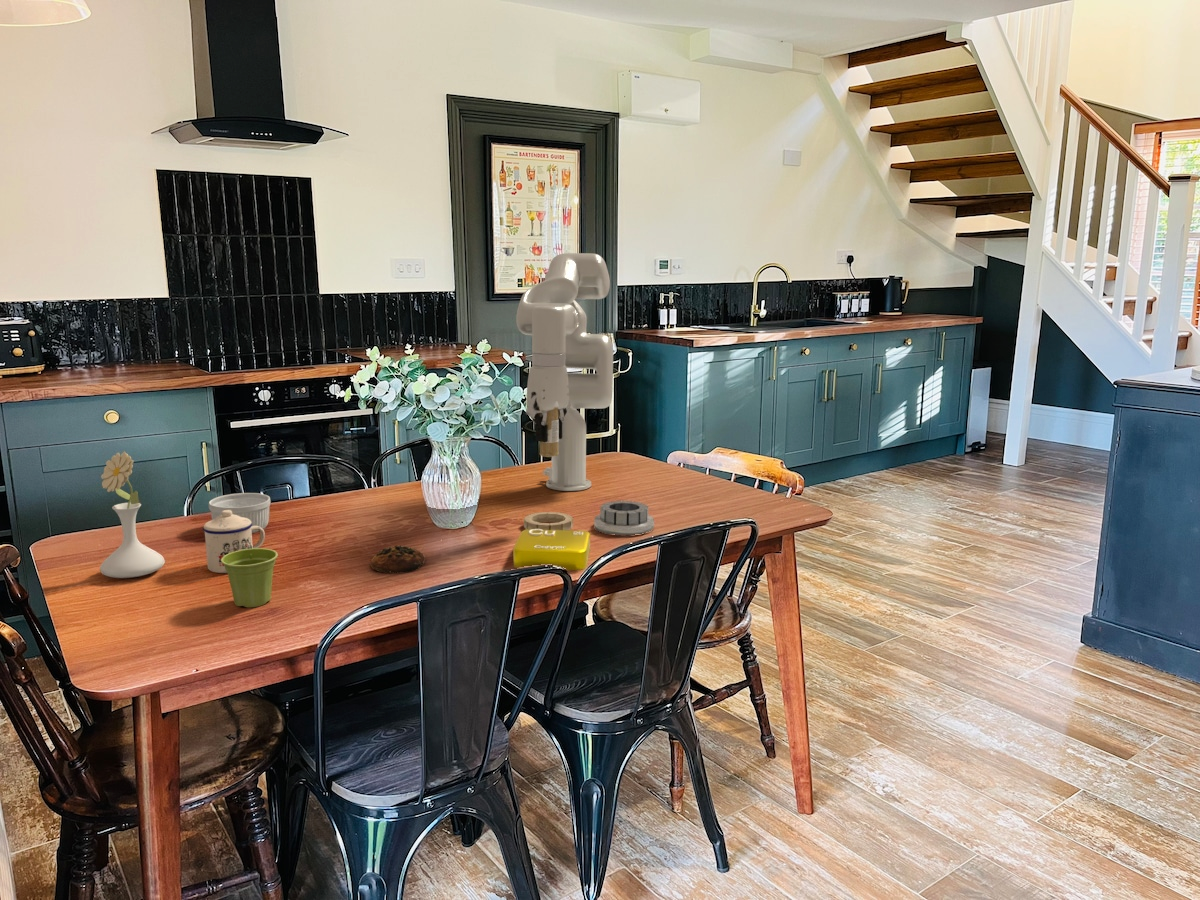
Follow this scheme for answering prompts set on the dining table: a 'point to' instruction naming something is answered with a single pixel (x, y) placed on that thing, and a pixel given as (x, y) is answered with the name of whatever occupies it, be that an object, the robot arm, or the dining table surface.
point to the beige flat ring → (533, 521)
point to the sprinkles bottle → (551, 434)
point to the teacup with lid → (228, 538)
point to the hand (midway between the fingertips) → (549, 438)
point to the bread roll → (397, 560)
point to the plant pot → (250, 575)
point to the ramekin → (243, 507)
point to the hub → (623, 518)
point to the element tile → (552, 548)
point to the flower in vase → (127, 526)
